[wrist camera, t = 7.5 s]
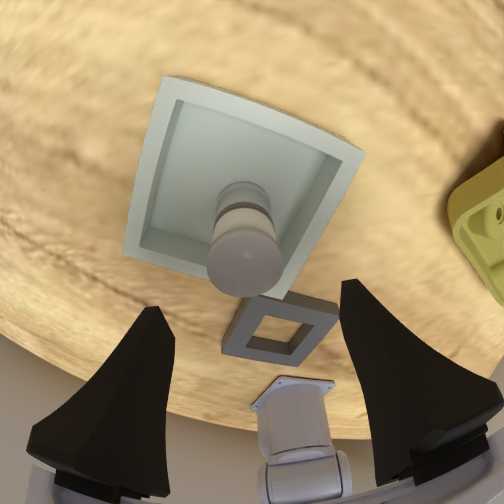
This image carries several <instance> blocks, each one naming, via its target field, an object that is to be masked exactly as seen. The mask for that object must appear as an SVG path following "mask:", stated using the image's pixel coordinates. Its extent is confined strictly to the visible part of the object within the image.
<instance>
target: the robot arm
mask: <svg viewBox="0 0 504 504" xmlns="http://www.w3.org/2000/svg"><path fill="white" fill-rule="evenodd" d="M339 319H340V323H341V328H342V332H343V336H344V340H345V342H346V345H347V348H348V351H349V353H350V356H351V359H352V362H353V364H354V367H355V370H356V373H357V376H358V379H359V381H360V384H361V388H362V391H363V395H364V399H365V404H366V409H367V414H368V420H369V425H370V431H371V438H372V445H373V453H374V465H375V479H376V484H377V487H379V486H383V485H385V484H389V483H392V482H395V481H398V480H399V481H398V482H396V483H393V484H390V485H387V486H383V487H380V488H377V489H373V490H370V491H366V492H363V493H359V494H355V495H352V478H351V471H350V466H349V462H348V458H347V455H346V454H345V453H343V452H342V451H340V450H339V451H336V453H335V448H334V446H332V441H331V436H330V430H329V425H328V420H327V414H326V409H325V404H324V399H323V395H325V394H326V393H327V392H328V391H329V390H331V389H332V388H333V387H334V386H335V382H332V381H320V380H310V379H301V378H292V377H285V376H280V377H278V378H277V379H276V380H275V381H274V382H273V384H272V385H271V386H270V387H269V388H268V389H267V390H266V391H265V392H264V393H263V394H262V395H261V396H260V397H259V398H258V399H257V401H256V402H255V403H254V404H253V405H252V406H251V407H250V409H251V410H255V411H257V422H258V439H259V448H260V451H261V453H262V454H263V456H264V457H265V458H266V459H267V461H268V462H264V463H263V464H262V465H261V467H259V469H258V473H257V488H258V495H259V499H260V503H261V504H380V503H381V504H488V503H489V502H490V501H492V500H493V499H494V498H496V497H497V496H498V495H499V494H501V493H502V492H503V491H504V427H503V428H502V429H500V430H499V431H497V432H496V433H494V434H492V435H491V436H489V437H488V438H486V435H485V433H486V432H487V431H488V427H487V425H486V422H487V421H489V420H490V419H491V418H492V417H493V416H495V415H496V414H497V413H498V412H499V411H500V410H501V409H502V408H503V407H504V399H503V396H502V394H501V392H500V390H499V388H498V386H497V384H496V383H495V382H493V381H490V380H488V379H486V378H484V377H482V376H479V375H477V374H475V373H473V372H471V371H469V370H467V369H465V368H463V367H461V366H459V365H458V364H456V363H454V362H453V361H451V360H450V359H448V358H446V357H445V356H443V355H442V354H440V353H438V352H437V351H436V350H434V349H433V348H431V347H430V346H429V345H427V344H426V343H425V342H423V341H422V340H421V339H419V338H418V337H417V336H416V335H415V334H413V333H412V332H411V331H410V330H409V329H408V328H406V327H405V326H404V325H403V324H402V323H401V322H400V321H399V320H397V319H396V318H395V317H394V316H393V315H392V314H391V313H390V312H389V311H388V310H387V309H386V308H385V307H384V306H383V305H382V304H381V303H380V302H379V301H378V300H377V299H376V298H375V297H374V296H373V295H372V294H371V293H370V292H369V291H368V289H367V288H366V287H365V286H364V285H363V284H362V283H361V282H360V281H359V280H358V279H351V280H345V281H342V285H341V299H340V311H339ZM174 357H175V337H174V335H173V333H172V331H171V329H170V327H169V325H168V323H167V321H166V320H165V318H164V316H163V314H162V312H161V310H160V308H159V306H153V307H145V308H144V310H143V311H142V312H141V314H140V315H139V316H138V318H137V319H136V321H135V322H134V323H133V325H132V326H131V328H130V329H129V330H128V332H127V333H126V334H125V336H124V337H123V339H122V340H121V341H120V343H119V344H118V346H117V347H116V348H115V349H114V351H113V352H112V353H111V355H110V356H109V357H108V358H107V360H106V361H105V362H104V364H103V365H102V366H101V367H100V368H99V370H98V371H97V372H96V373H95V374H94V375H93V376H92V377H91V379H90V380H89V381H88V382H87V383H86V384H85V385H84V386H83V387H82V388H81V389H80V390H79V391H78V392H77V393H76V394H74V395H73V396H72V397H71V398H70V399H69V400H68V401H67V402H66V403H64V404H63V405H62V406H61V407H60V408H58V409H57V410H56V411H54V412H53V413H52V414H50V415H49V416H47V417H46V418H44V419H43V420H41V421H40V422H38V423H37V424H35V425H33V427H32V430H31V434H30V437H29V441H28V445H27V449H26V451H27V453H28V454H30V455H31V456H33V457H34V458H36V459H38V460H40V461H42V462H43V463H45V464H47V465H49V466H51V467H53V468H55V469H56V474H54V473H52V472H50V471H48V470H45V469H43V468H41V467H38V466H36V465H32V468H31V473H30V478H29V484H28V490H27V495H26V503H25V504H159V503H153V502H147V501H142V500H141V497H144V498H150V496H156V497H163V498H165V497H167V496H168V495H169V494H170V487H169V480H168V472H167V462H166V443H165V442H166V441H165V427H166V408H167V401H168V395H169V389H170V383H171V377H172V371H173V365H174Z"/></svg>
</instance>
